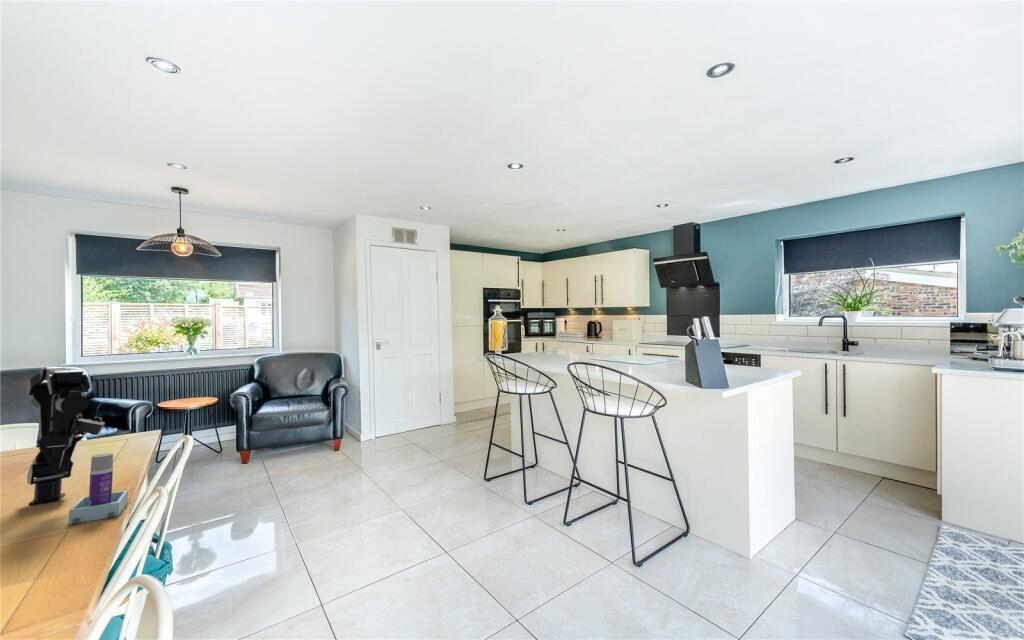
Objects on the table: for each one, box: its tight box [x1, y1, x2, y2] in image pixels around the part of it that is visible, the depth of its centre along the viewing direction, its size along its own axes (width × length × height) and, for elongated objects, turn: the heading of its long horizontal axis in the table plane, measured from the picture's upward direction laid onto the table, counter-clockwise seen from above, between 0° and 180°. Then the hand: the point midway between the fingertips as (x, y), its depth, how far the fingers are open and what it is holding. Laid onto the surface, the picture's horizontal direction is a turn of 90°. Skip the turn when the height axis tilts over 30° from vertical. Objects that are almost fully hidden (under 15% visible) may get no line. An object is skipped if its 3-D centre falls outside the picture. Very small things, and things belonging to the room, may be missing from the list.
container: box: [88, 452, 114, 507], centre depth 120 cm, size 5×5×15 cm
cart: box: [68, 490, 129, 526], centre depth 120 cm, size 15×10×4 cm
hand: (62, 465), depth 123 cm, fingers open, 9 cm apart
